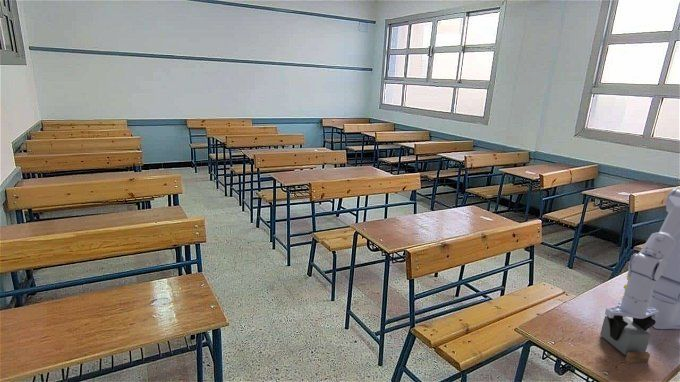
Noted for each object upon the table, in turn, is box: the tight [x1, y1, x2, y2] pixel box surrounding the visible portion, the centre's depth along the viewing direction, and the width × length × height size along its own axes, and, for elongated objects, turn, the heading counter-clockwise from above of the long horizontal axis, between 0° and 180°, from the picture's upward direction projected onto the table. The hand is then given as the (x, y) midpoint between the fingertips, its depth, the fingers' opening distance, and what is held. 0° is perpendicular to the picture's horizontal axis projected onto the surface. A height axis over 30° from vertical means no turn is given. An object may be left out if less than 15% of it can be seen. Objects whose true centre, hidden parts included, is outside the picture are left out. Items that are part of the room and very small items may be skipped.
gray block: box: [599, 315, 651, 356], centre depth 108 cm, size 6×9×6 cm, turn 6°
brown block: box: [624, 351, 651, 364], centre depth 103 cm, size 6×1×2 cm, turn 96°
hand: (624, 338), depth 108 cm, fingers closed on gray block, 6 cm apart
